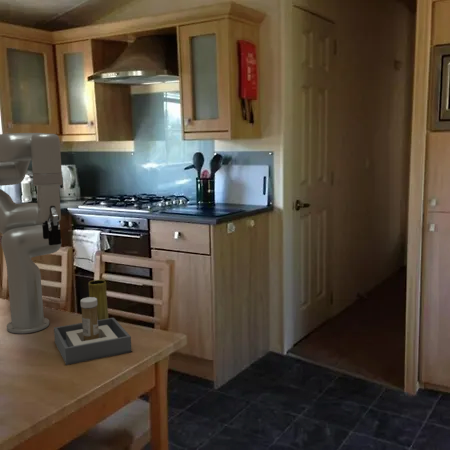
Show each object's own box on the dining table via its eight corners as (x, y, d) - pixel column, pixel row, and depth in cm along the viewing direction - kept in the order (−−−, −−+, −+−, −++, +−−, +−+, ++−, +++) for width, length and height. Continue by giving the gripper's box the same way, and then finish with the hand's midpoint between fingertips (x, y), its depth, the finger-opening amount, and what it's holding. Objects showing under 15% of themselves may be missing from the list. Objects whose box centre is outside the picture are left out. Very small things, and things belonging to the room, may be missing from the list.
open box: (54, 342, 157) (53, 327, 156) (114, 331, 165) (113, 317, 164) (66, 365, 142) (65, 348, 141) (131, 352, 149) (130, 336, 148)
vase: (111, 322, 173) (109, 279, 170) (105, 329, 167) (103, 284, 164) (93, 322, 173) (90, 279, 171) (86, 329, 167) (84, 284, 165)
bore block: (66, 341, 156) (65, 331, 155) (107, 334, 161) (107, 324, 160) (74, 356, 145) (74, 346, 145) (118, 348, 150) (118, 338, 150)
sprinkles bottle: (102, 345, 153) (99, 299, 150) (86, 349, 150) (83, 302, 148) (96, 340, 156) (93, 295, 154) (81, 343, 154) (78, 298, 152)
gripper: (29, 178, 153) (33, 237, 156) (37, 182, 138) (42, 248, 141) (56, 176, 156) (60, 235, 159) (68, 181, 141) (72, 245, 144)
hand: (52, 241), depth 150 cm, fingers open, 9 cm apart
